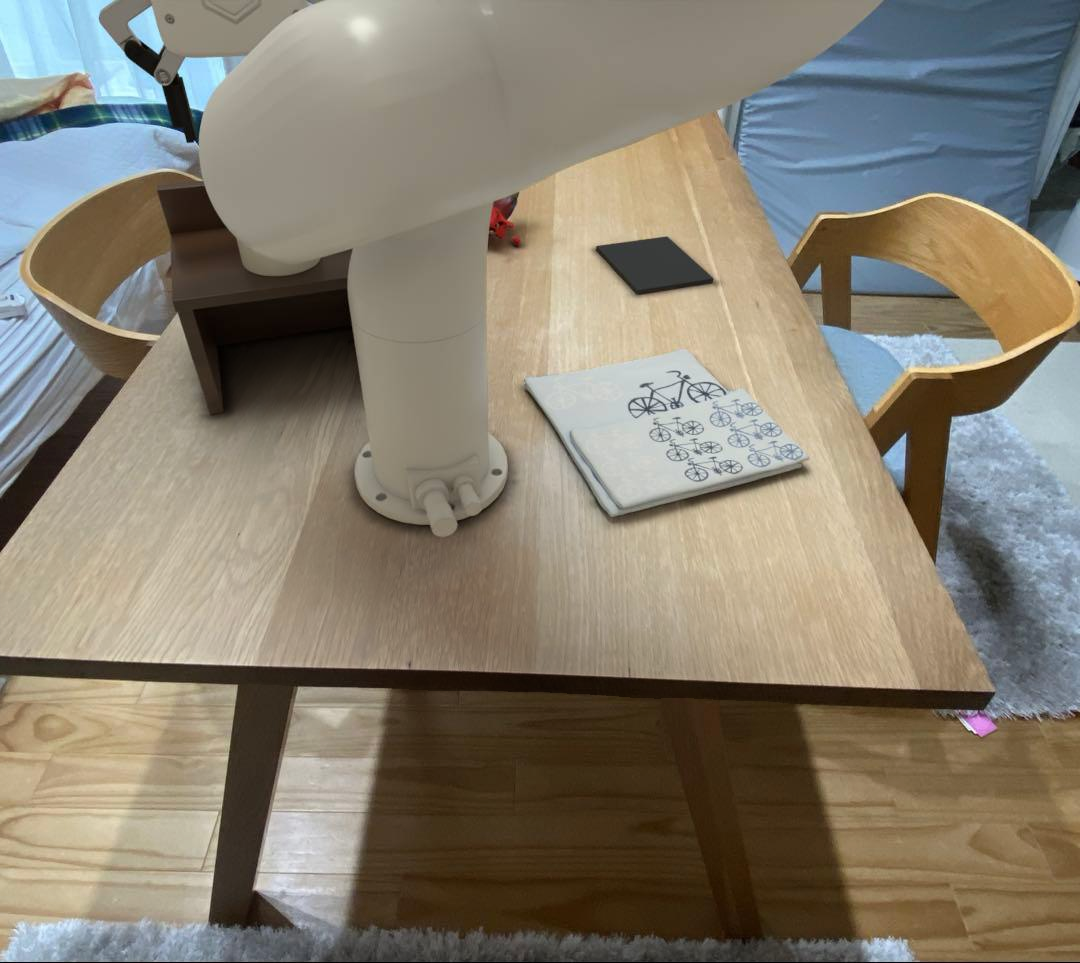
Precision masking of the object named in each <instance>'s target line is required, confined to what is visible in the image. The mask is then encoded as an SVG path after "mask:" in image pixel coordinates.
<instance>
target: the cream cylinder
mask: <svg viewBox="0 0 1080 963" xmlns="http://www.w3.org/2000/svg"><path fill="white" fill-rule="evenodd" d="M236 239H237V238H236ZM237 243H238V247H239V251H240V255H241V260H242V263H243V266H244V267H245V268H246V269H247V270H248V271H250V272H252V273H255V274H258V275H264V276H287V275H293V274H297V273H301V272H304V271H306V270H308V269H310V268H312V267H314V266H315V265H316V264H317V263H318V262H319V261H320V259H321V258H319V259H315V260H311V261H308V262H304V263H300V264H282V263H277V262H274V261H271V260H268V259H266V258H264V257H262V256H260V255H258V254H256V253H255V252H253V251H252V250H250V249H249V248H247V247H246V246H245V245H244V244H243V243H241V242H240V241H239V240H238V239H237Z"/></svg>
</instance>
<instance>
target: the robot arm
mask: <svg viewBox="0 0 1080 963" xmlns="http://www.w3.org/2000/svg"><path fill="white" fill-rule="evenodd" d="M884 1H885V0H113V1H111V2H110V3H109V4H107V5H106V6H104V7H103V8H101V10H99V14H98V22H99V23H100V25H101V27H102V28H103V29H104V30H105V31H106V33H107V34H108V35H109V36H110V37H111V39H112V40H113V41H114V42H115V44H116V45H117V46H119V48H120V49H121V50H122V51H123V53H124V55H125V56H126V58H127V59H129V61H131V62H132V63H133V64H135V65H136V66H138V67H139V68H140V69H141V70H143V71H144V72H145V73H147V74H148V75H150V76H151V77H153V79H154V80H155V82H156V83H158V84H159V85H160V86H161V89H162V92H163V95H164V99H165V102H166V106H167V110H168V113H169V118H170V121H171V125H172V128H173V129H182V130H183V134H184V137H185V138H184V139H185V141H186V144H192V143H195V141H197V131H196V130H197V129H196V126H195V122H194V118H193V113H192V110H191V107H190V102H189V98H188V94H187V90H186V86H185V82H184V78H183V76H180V74H179V69H180V68H181V66H182V64H183V62H184V60H185V59H186V58H191V59H204V58H207V59H209V58H227V57H228V58H229V57H243V59H242V60H241V61H240V62H239V63H238V64H237V65H236V66H235V67H234V68H233V69H232V70H230V72H229V73H228V74H227V75H226V76H225V77H224V78H223V79H222V81H220V83H219V84H218V85H217V86H216V87H215V89H214V90H213V92H212V93H211V95H210V96H209V98H208V100H207V103H206V105H205V108H204V110H203V113H202V117H201V122H200V127H199V133H198V159H199V167H200V172H201V176H202V181H204V185H205V188H206V191H207V193H208V196H209V198H210V201H211V203H212V205H213V207H214V209H215V210H216V212H217V214H218V216H219V217H220V219H221V220H222V221H223V223H224V224H225V226H226V227H227V228H228V229H229V231H230V232H231V233H232V234H233V235H234V236H235V237H236V238H237V239H238V240H239V241H240V242H241V243H243V244H244V245H245V246H246V247H247V248H249V249H250V250H252V251H253V252H255V253H256V254H258V255H260V256H262V257H264V258H266V259H268V260H271V261H274V262H277V263H282V264H300V263H304V262H308V261H311V260H315V259H319V258H322V257H325V256H329V255H332V254H336V253H339V252H342V251H346V250H349V249H352V248H353V250H352V254H351V258H350V263H349V270H348V281H347V289H348V301H349V308H350V314H351V321H352V325H351V327H352V334H353V339H354V347H355V353H356V354H355V355H356V359H357V360H356V361H357V365H358V366H357V367H358V374H359V381H360V386H361V388H360V389H361V393H362V400H363V407H364V414H365V421H366V427H367V434H368V440H369V441H368V442H367V443H366V444H365V445H363V447H362V448H361V449H360V451H359V453H358V455H357V457H356V460H355V464H354V480H355V485H356V489H357V491H358V493H359V496H360V498H361V499H362V500H363V501H364V502H365V503H366V504H367V506H368V507H370V509H373V511H375V512H376V513H378V514H380V515H382V516H384V517H386V518H388V519H390V520H394V521H397V522H400V523H405V524H412V525H422V526H423V525H425V526H427V525H429V526H430V529H431V532H432V534H434V536H436V537H439V538H444V537H449V536H451V535H453V534H454V533H455V532H456V530H458V525H459V524H458V521H460V520H465V519H466V518H469V517H474V516H477V515H479V514H480V513H481V512H482V511H483V510H484V509H486V508H487V507H489V506H490V505H491V504H492V503H493V502H494V501H495V500H496V499H497V498H498V497H499V495H501V493H502V492H503V490H504V488H505V485H506V483H507V480H508V471H509V465H508V464H509V463H508V457H507V454H506V450H505V448H504V447H503V445H502V443H501V442H500V441H499V440H498V438H496V437H495V436H494V435H493V434H492V433H491V432H489V378H488V377H489V376H488V375H489V374H488V371H489V370H488V321H487V320H488V319H487V318H488V316H487V312H488V311H487V310H488V283H487V282H488V280H487V279H488V278H487V277H488V276H487V275H488V272H487V270H488V245H489V237H488V235H489V234H490V231H489V225H490V218H491V212H492V207H493V202H494V201H496V200H499V199H502V198H505V197H507V196H510V195H513V194H515V193H517V192H519V193H520V192H522V191H525V190H527V189H529V188H531V187H533V186H535V185H537V184H538V183H540V182H542V181H544V180H546V179H548V178H551V177H552V176H553V175H556V174H558V173H559V172H560V173H561V172H562V171H564V170H567V169H568V168H569V169H570V167H573V166H575V165H578V164H581V163H583V162H586V161H588V160H591V159H594V158H597V157H600V156H603V155H606V154H608V153H611V152H614V151H618V150H620V149H623V148H625V147H626V148H627V147H629V146H633V145H635V144H637V143H639V142H642V141H644V140H646V139H648V138H651V137H653V136H655V135H657V134H661V133H663V132H666V131H669V130H671V129H674V128H676V127H679V126H683V125H685V124H687V123H691V122H693V121H694V120H695V121H696V120H697V119H700V118H702V117H705V116H708V115H710V114H712V113H715V112H718V111H721V110H723V109H724V108H727V107H729V106H731V105H733V104H736V103H738V102H740V101H742V100H744V99H747V98H749V97H751V96H752V95H753V96H754V95H755V94H757V93H759V92H760V91H762V90H764V89H766V88H768V87H769V86H771V85H773V84H775V83H778V82H779V81H781V80H783V79H785V78H786V77H788V76H789V75H790V74H792V73H794V72H796V71H797V70H799V69H800V68H802V67H804V66H805V65H807V64H808V63H809V62H811V61H813V59H815V58H817V57H818V56H820V55H822V54H823V53H824V52H825V51H827V50H828V49H829V48H830V47H832V46H833V45H834V44H836V43H838V42H839V41H840V40H841V39H843V38H844V37H845V36H847V34H849V33H850V32H851V31H852V30H854V29H855V28H856V27H857V26H858V25H859V24H860V23H862V22H863V21H864V20H865V19H866V18H867V17H868V16H869V15H870V14H871V13H872V12H873V11H875V10H876V9H877V8H878V7H879V6H880V5H881V4H882V3H883V2H884ZM308 3H310V4H311V5H308ZM151 7H152V11H153V15H154V19H155V23H156V26H157V30H158V33H159V36H160V39H161V40H162V43H163V44H162V46H161V48H160V50H159V51H158V52H156V51H155V50H154V49H152V48H151V47H150V46H148V44H146V43H145V42H143V41H142V40H141V39H140V38H138V37H137V36H136V34H135V33H134V31H133V30H132V28H131V27H130V25H129V23H130V22H131V21H132V20H133V19H135V18H136V17H138V16H139V15H141V14H142V13H144V12H145V11H147V10H148V9H149V8H151Z"/></svg>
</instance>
